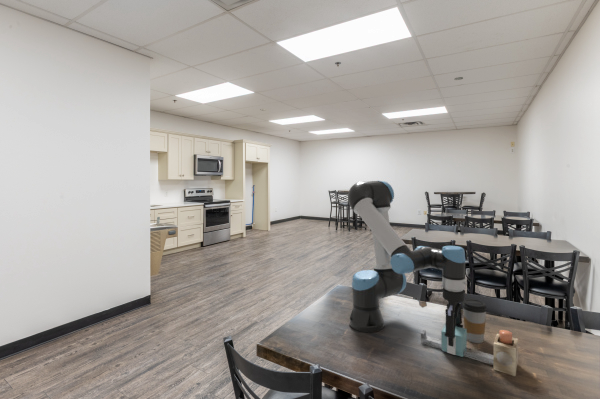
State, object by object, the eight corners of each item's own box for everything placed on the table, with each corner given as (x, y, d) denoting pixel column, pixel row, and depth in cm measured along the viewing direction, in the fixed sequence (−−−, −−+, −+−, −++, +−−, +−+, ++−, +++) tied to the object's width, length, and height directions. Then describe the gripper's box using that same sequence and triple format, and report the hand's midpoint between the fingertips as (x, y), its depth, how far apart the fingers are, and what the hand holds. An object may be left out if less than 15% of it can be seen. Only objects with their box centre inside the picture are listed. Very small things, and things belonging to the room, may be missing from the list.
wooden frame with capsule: (493, 370, 100) (493, 344, 100) (496, 358, 107) (496, 333, 106) (515, 377, 97) (515, 350, 96) (517, 364, 103) (517, 338, 102)
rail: (421, 342, 118) (421, 333, 118) (423, 339, 121) (423, 330, 120) (499, 367, 102) (499, 355, 101) (500, 363, 104) (500, 351, 104)
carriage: (441, 351, 112) (441, 331, 111) (446, 342, 117) (446, 323, 116) (462, 357, 107) (462, 336, 107) (466, 348, 112) (466, 328, 112)
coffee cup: (490, 345, 114) (490, 307, 114) (466, 344, 116) (466, 306, 115) (481, 334, 123) (481, 298, 122) (459, 333, 124) (459, 298, 123)
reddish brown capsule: (498, 341, 101) (498, 333, 101) (500, 337, 104) (500, 328, 104) (511, 345, 99) (511, 336, 98) (512, 340, 101) (512, 331, 101)
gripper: (458, 299, 100) (459, 365, 102) (470, 282, 116) (470, 340, 117) (435, 294, 105) (435, 357, 107) (449, 279, 121) (449, 334, 122)
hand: (454, 348), depth 112 cm, fingers closed on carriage, 7 cm apart
